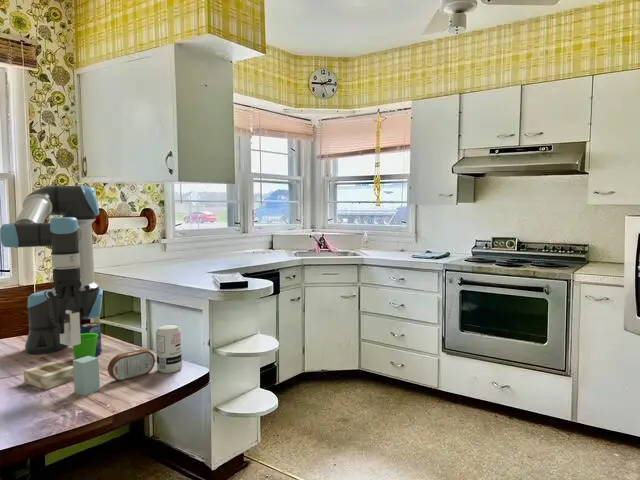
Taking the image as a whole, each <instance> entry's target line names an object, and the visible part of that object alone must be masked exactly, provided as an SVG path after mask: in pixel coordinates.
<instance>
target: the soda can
mask: <svg viewBox="0 0 640 480" xmlns="http://www.w3.org/2000/svg"><path fill="white" fill-rule="evenodd" d="M84 333H96V334H98V335H99V336H98V337H97V344H96V352H95V357H96V358H98V357H100V355H101V353H102V331H101V326H100V324H99V322H87V323H84V324H81V329H80V334H84Z"/></svg>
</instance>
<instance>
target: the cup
mask: <svg viewBox="0 0 640 480" xmlns="http://www.w3.org/2000/svg"><path fill="white" fill-rule="evenodd" d="M80 336H81V344H78V345H75V346H71V347H72V350H73V354H74V358H75V359H74V360H76V359H79V358H82V357H86V356H91V357H95V352H96V344H97V337H98V336H99V335H98V334H96V333H84V334H80Z"/></svg>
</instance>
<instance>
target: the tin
mask: <svg viewBox="0 0 640 480" xmlns="http://www.w3.org/2000/svg"><path fill="white" fill-rule="evenodd" d="M155 364H156V358H155V355H154V354H153V353H152V352H151V351H150V350H148V349H146V348H145V349H143V348H142V349H141V348H140V349H138V350H134V351H133V350H132V351H128V352H124V353H119V354H117V355H115V356H114V357H112V359H111V360H110V361H109V363H108V366H107V373H108V375H109V377H110V378H112V379H114V380H115V381H119V382H120V381H121V382H123V381H126V380H130V379H133V378H137V377H141V376H145V375H148V374H149V373H150V372H151V371H152V370H153V368H154V366H155Z"/></svg>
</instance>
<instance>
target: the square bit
mask: <svg viewBox="0 0 640 480" xmlns="http://www.w3.org/2000/svg"><path fill="white" fill-rule="evenodd" d="M72 366H73V372H74V380H73V386H74V388H73V389H74V391H73V392H74V393H75V394H78V395H82V396H88V395H91V394H93V393H95V391H96V392H98V391H100V390H101V388H100V387H101V386H100V384H101V383H100V368H99V366H100V365H99V357H91V356H86V357H82V358H79V359H76V360H75V359H72ZM90 393H91V394H90Z"/></svg>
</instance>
